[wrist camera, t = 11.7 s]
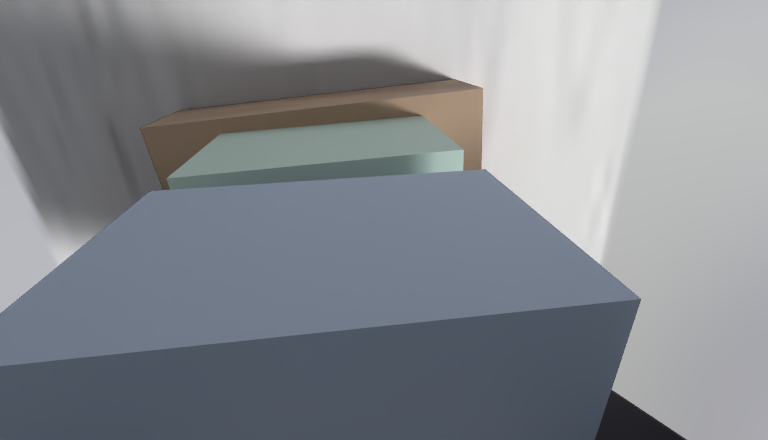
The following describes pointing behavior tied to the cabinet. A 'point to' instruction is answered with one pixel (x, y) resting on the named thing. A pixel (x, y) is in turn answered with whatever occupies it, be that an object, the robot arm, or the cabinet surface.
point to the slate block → (319, 319)
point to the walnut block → (321, 118)
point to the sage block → (321, 154)
